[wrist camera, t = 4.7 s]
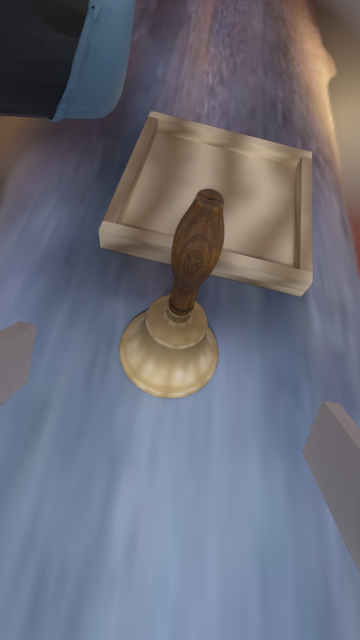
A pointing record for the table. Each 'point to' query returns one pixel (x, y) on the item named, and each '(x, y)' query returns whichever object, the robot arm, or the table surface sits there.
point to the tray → (239, 201)
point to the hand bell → (179, 311)
